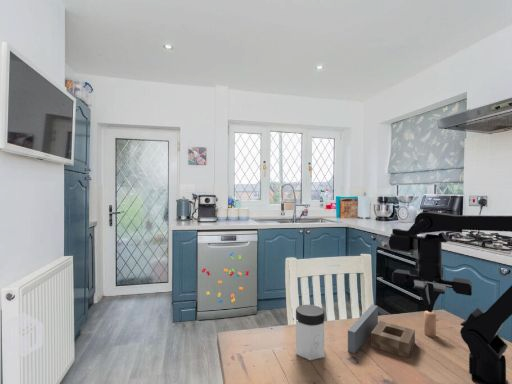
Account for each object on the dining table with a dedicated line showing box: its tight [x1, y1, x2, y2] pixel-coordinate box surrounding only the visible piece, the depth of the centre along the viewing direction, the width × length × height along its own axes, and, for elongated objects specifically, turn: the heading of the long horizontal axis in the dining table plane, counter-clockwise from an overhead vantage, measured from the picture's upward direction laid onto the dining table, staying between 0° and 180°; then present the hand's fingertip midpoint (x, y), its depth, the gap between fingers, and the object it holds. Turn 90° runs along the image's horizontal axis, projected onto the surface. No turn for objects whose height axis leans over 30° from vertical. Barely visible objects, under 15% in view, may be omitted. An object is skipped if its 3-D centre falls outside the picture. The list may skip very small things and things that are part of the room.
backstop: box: [347, 304, 379, 354], centre depth 89 cm, size 2×24×6 cm, turn 142°
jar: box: [295, 304, 326, 361], centre depth 80 cm, size 9×8×12 cm
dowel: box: [423, 310, 437, 338], centre depth 90 cm, size 3×3×7 cm
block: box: [370, 320, 416, 359], centre depth 84 cm, size 10×10×4 cm
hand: (430, 311), depth 78 cm, fingers closed
